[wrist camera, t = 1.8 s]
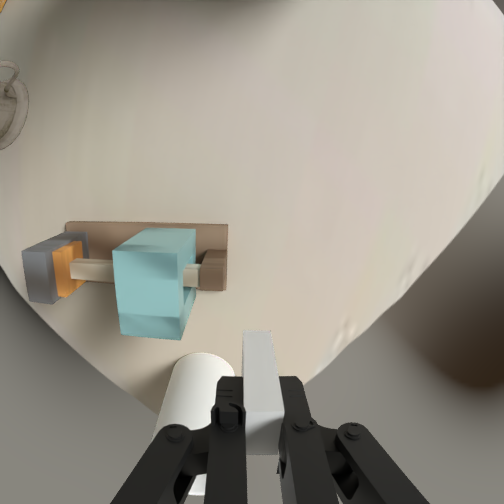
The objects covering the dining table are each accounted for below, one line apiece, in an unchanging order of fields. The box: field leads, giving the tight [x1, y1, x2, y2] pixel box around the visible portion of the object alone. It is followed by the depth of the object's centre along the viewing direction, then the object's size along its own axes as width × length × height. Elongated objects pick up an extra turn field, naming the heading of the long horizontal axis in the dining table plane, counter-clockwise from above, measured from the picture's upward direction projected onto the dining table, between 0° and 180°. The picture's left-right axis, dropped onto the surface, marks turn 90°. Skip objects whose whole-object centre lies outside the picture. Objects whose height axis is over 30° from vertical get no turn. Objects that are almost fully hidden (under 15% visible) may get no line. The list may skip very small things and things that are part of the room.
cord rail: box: [21, 221, 228, 304], centre depth 29 cm, size 7×19×10 cm, turn 87°
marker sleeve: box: [112, 228, 196, 340], centre depth 27 cm, size 7×5×9 cm
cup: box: [150, 352, 235, 495], centre depth 31 cm, size 8×8×16 cm
